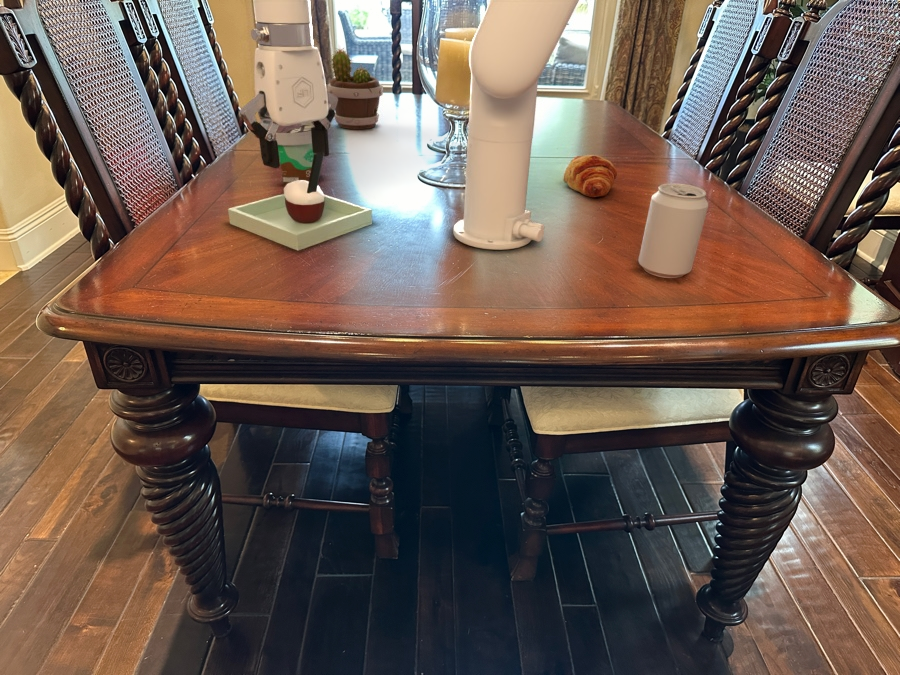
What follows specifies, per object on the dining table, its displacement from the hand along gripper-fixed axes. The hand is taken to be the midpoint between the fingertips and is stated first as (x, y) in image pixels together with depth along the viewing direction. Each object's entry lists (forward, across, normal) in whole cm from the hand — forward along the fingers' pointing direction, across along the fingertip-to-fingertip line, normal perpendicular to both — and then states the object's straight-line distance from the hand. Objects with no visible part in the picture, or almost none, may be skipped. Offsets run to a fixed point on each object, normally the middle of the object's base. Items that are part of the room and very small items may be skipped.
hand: (297, 160), depth 94 cm
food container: (+10, +17, +18) cm, 27 cm away
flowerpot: (+10, +60, +48) cm, 78 cm away
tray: (+10, 0, 0) cm, 10 cm away
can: (+11, +23, -52) cm, 58 cm away
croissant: (+11, +53, -25) cm, 59 cm away
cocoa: (+10, 0, 0) cm, 10 cm away
